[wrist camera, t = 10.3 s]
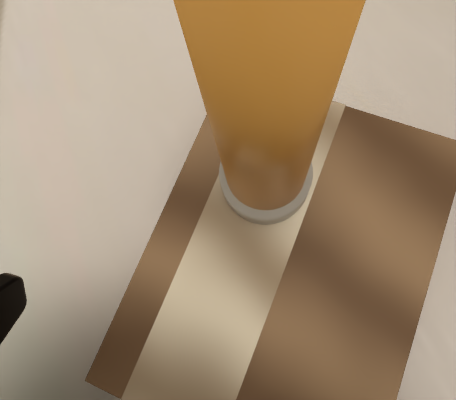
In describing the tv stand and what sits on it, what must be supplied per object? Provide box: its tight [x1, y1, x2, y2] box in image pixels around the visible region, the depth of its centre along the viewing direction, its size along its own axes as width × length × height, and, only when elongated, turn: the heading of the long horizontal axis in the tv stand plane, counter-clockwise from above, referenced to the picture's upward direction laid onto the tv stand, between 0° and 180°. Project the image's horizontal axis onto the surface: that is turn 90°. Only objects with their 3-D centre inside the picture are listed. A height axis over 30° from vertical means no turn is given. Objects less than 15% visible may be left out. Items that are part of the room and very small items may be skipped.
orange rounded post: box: [174, 0, 366, 225], centre depth 12 cm, size 4×4×13 cm
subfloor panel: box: [85, 101, 456, 400], centre depth 17 cm, size 16×12×1 cm
